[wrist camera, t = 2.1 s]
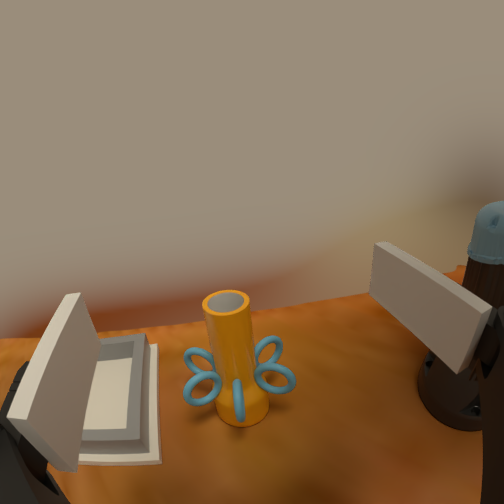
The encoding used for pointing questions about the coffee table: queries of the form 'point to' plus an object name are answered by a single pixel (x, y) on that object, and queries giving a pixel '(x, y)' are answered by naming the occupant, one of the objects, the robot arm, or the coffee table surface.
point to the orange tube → (235, 362)
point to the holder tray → (123, 405)
